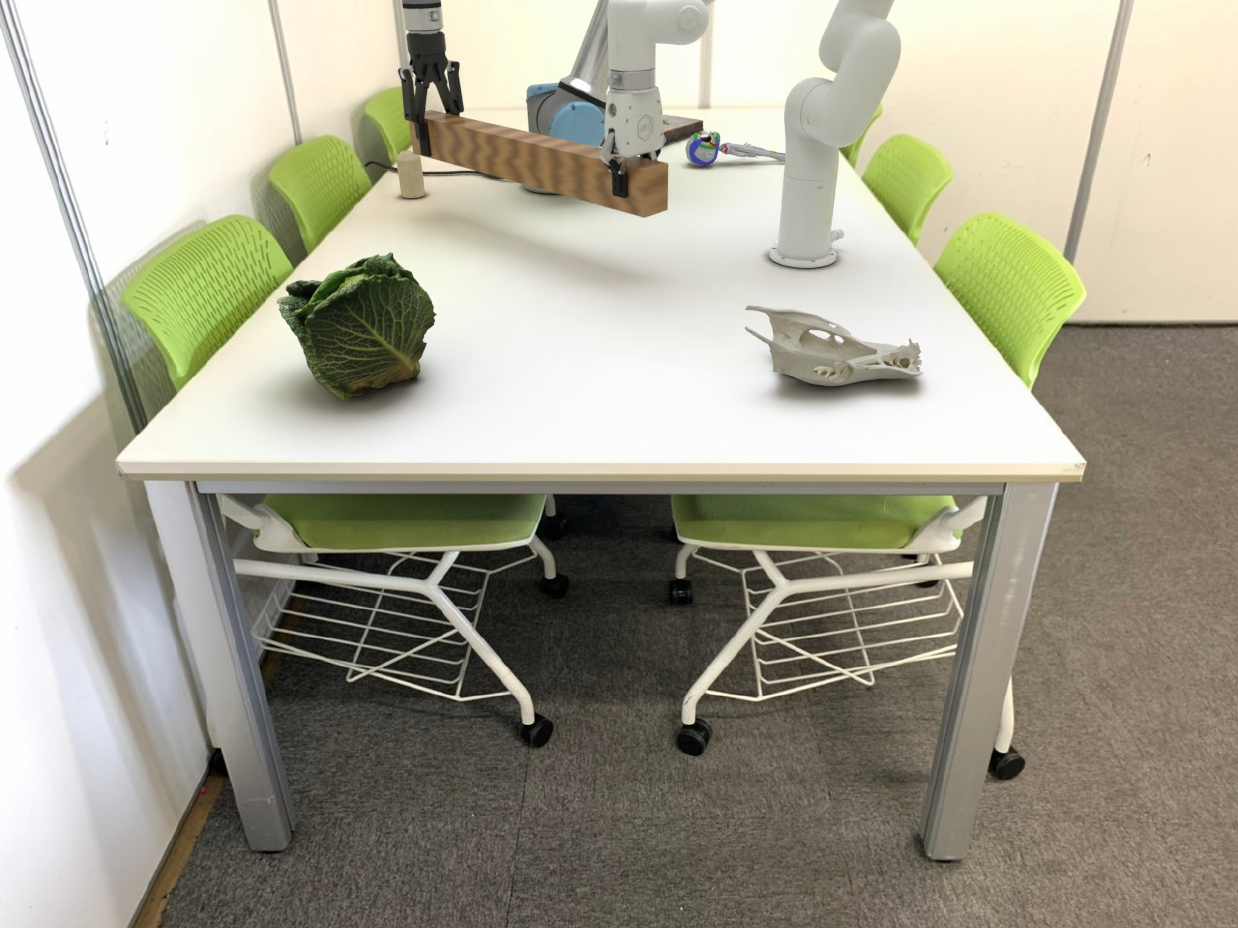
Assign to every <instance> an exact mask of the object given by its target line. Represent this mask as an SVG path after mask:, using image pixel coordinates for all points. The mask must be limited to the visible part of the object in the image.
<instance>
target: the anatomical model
mask: <svg viewBox="0 0 1238 928" xmlns="http://www.w3.org/2000/svg"><path fill="white" fill-rule="evenodd" d="M745 311H755V312H761V313H764V314H765V315H766V316H768V318H769V319H768V320H769V323H770V326H771V329H772V334H773V335H772V336H773V337H772V340H770V339H768V338H767V337H765V336H763V335H762V334H760V333H758V332H757V331H755V330H754V329H752V328H750V327H749V326H746V325H745V326H744V330H746V332H748V333H749V334H751V335H752V336H754V337H756V338H757V339H759V340H760V341H761V342H763V343H765V344H766V345H768V347H769V352H770V356H771V359H772V372H774V373H778V374H784V375H787V376H791V377H793V378H795V379H798V380H799V381H802V382H805V383H807V384H810V385H811V384H812V385H816V386H817V385H818V386H824V387H838V386H844V385H850V384H853V383H858V382H863V381H864V382H865V381H872V380H880V379H881V380H882V379H888V380H889V379H890V380H901V379H902V380H904V379H905V380H907V379H913V378H916V377H920V376H922V375H924V372H923V371H920V370H921V369H920V368H921V367H920V366H922V365H923V360H922V359H920V358H921V355H920V354H921V353H922V350H921V347H920V344H919V342H913V341H912V338H911V337H910V338H909V339H908V342H909V344H908V345H904V344H902V345H900V346H897V345H893V344H890V343H880V342H872V341H865V340H861V339H859V338H857V337H855V336H853V335H852V334H851V332H850V331H849V330H848V329H846V328H845V327H844V326H842V325H840V324H838V323H836V322H834V321H832V320H829V319H827V318H825V317H822V316H819V315H817V314H813V313H809V312H807V311H806V312H805V311H802V310H798V309H794V308H791V309H790V308H789V309H787V308H771V307H765V306H761V305H755V304H753V305H752V304H749V305H746V307H745ZM830 324H831V325H833V326H835V327H833V326H831V325H830ZM810 331H820V332H823V333H826V334H828V335H829V336H828V337H827V338H824V337H823V338H822V337H820V336H817V335H815V334H813V333H812V332H810ZM836 336H837V337H839V338H841V339H842V340H843V341H842V342H841V341H839V340H837V339H836Z"/></svg>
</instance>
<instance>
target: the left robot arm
mask: <svg viewBox="0 0 1238 928" xmlns="http://www.w3.org/2000/svg"><path fill="white" fill-rule="evenodd" d="M608 2H609V0H598V1H597V3H596V6H595V8H594V11H593V14H592V16H591V19H590V21H589V25H588V27H587V29H586V32H585V34H584V37H583V39H582V41H581V45H580V48H579V50H578V53H577V54H576V58H575V59H574V63H573V65H572V68H571V71H570V73H569V74H568V75H567V76H564V77H563V78H560V79H559V82H550V83H549V82H548V83H547V82H546V83H538V84H531V85H529V86H528V87H527V89H526V99H525V103H526V112H527V125H528V126H527V127H528V132H532V133H536V134H541V135H545V136H549V137H554V138H558V139H563V140H567V141H572V142H576V143H581V144H585V145H590V146H594V147H599V148H600V146H601V145H600V144H601V143H602V141H603V139H604V136H605V119H604V116H605V111H606V101H607V94H608V89H609V85H608V84H607V78H608V77H609V53H608V14H607V8H608ZM401 6H402V14H403V21H404V22H403V23H404V29H405V31H408V32H407V33H406V35H405V39H406V46H407V47H406V48H407V52H408V54H409V63H408V65H407V66H405V67H404V68H402V67H399V68H398V69H397V74H398V77H399V79H400V83H401V84H400V85H401V93H402V106H403V116H404V117H403V118H404V120H405V121H408V122H409V121H411V122H413V123H414V126H415V134H416V138H417V139H418V140H419V142H420V149H421V155H424V156H428V157H430V156H432V154H431V146H430V138H429V130H428V123H424V117H425V111H426V107H427V98H428V92H429V91H428V89H430V85H431V84H432V83H433V84H434V85H435V88H436V91H437V93H438V96H439V98H440V101H441V103H442V106H443V109H444V111H445V112H444V113H447V114H451V115H456V116H460V117H461V113H464V112H465V106H464V98H463V94H462V93H463V92H462V86H461V79H460V67H461V66H460V65H461V64H460V62H459V61H456V60H449V59H448V57H447V55H446V52H447V43H446V35H445V33H444V31H442V30H443V29H444V17H443V8H442V0H401ZM445 73H446V74H445ZM414 75H415V76H414ZM413 78H414V79H413ZM421 155H420V156H421ZM424 156H423V157H424ZM428 157H427V158H428ZM370 165H377V166H379V167H381V168H384V169H387V170H391V171H394V172H398V169H397V167H394V166H392V165H391V166H390V165H387V164H384V163H382V162H379V161H376V160H369V161H367V162H366V163H365V164H364V167H365V168H367V167H368V166H370ZM422 172H423V176H424V175H427V176H429V175H431V176H432V175H433V176H434V175H438V176H439V175H443V176H444V175H462V174H463V175H465V174H466V175H467V174H472V175H481V176H484V177H487V178H490V179H494V180H504V179H503V178H500V177H496V176H493V175H489V174H485V173H482V172H478V171H475V170H448V171H422ZM524 188H525V189H526V190H527V191H530V192H531V193H535V194H536V193H537V194H543V195H544V194H545V195H558V194H557V193H554V192H550V191H547V190H543V189H539V188H536V187H532V186H529V185H525V184H524Z"/></svg>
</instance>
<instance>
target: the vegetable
mask: <svg viewBox="0 0 1238 928" xmlns="http://www.w3.org/2000/svg"><path fill="white" fill-rule="evenodd" d="M285 291H286V292H287V294H288V295H285V296H281V297H278V298H277V300H276V304H278V305H279V308H278V311H279V312H280V315H281V318H282V319H283V320H284V321H285V323H286V324H287V325H288V326H289V329H290V330H291V332H292V333H293V334H294V335H295V337H296V338H297V341H298V343H299V345H300V347H301V348H302V351H303V354H304V357H305V361H306V366H307V367H308V369H309V371H310V372H311V374H312V376H313V378H314V380H315V381H316V382H317V383H318V384H319V385H320V386H321V387H323V388H324V389H326V390H328V391H329V392H332V393H333V394H334V395H336V396H337V397H338V398H339V399H341V400H342V401H348V400H349V399H350V398H351V397H363V396H364V394H363V392H362V391H363V390H364V389H369V388H378V389H379V388H381V389H382V388H383V387H385V386H387V385H388V383H391V384H392V383H398V382H401V381H403V380H406V381H417V380H418V378H419V377H418V376H419V375H420V373H421V363H420V359H421V358H422V357H423V354H424V352H425V350H426V347H427V344H428V342H424V339H425V335H427V332H428V331H429V330H430V329H431V328H433V327H434V326H435V323H436V319H435V317H436V316H437V315H438V313H435V311H434V309H435V306H434V304H433V301H432V298H431V297H430V295H429V294H428V292H427V291H426V290H425V289H424V288H423V287H422V286H421V285H420V283H419V281H418V280H417V279H416V278H415V277H414V275H413V271H410V270H409V269H405V268H404V267H403V266H402V265H401V264H400V263H399V262H398V261H397V259H395V258H394V252H391V251H390V252H388V253H387V254H385V255H380V254H378V253H377V254H375V255H373V256H369V257H363V258H361V259H359V260H357V261H356V262H354V263H352V264H350V265H348V266H346V267H345V269H341V270H336V271H333V272H331V273H328V275H326V277H324V279H323V280H322V281H321V280H314V279H310V280H304V279H299V280H296V281H294V282H293V281H292V283H289V284H287V285H286V286H285Z"/></svg>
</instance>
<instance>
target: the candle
mask: <svg viewBox="0 0 1238 928" xmlns="http://www.w3.org/2000/svg"><path fill="white" fill-rule="evenodd" d="M421 157H422V156H421V155H417V154H414V153H413V151H411V150H405V149H404V150H401V151H400V152H399V153H398V155H397V156H396V157H395V159H396V160H395V161H396V168H397V169H398V171H397V174H398V175H397V176H398V182H399V188H400V195H401V197H402V198H405V199H417V198H422V197H425V195H426V188H425V182H424V181H425V180H424V175H423V172H424V171H423V166H422V158H421Z"/></svg>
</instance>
